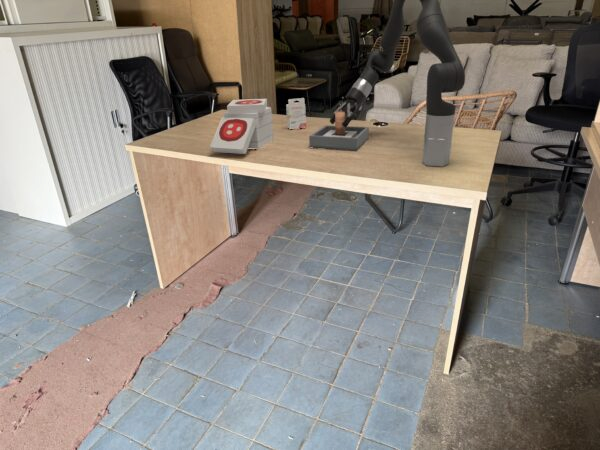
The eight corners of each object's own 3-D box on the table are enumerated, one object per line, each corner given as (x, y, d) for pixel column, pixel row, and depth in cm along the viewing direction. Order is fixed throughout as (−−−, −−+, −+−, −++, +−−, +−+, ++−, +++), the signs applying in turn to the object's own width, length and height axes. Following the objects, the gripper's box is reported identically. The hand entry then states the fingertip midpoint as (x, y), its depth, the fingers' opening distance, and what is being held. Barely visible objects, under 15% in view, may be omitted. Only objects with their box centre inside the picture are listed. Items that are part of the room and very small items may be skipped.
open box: (356, 151, 167) (356, 138, 165) (309, 147, 174) (309, 135, 172) (368, 138, 184) (368, 127, 182) (325, 136, 191) (325, 125, 189)
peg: (343, 142, 176) (343, 113, 171) (334, 141, 178) (334, 112, 173) (346, 139, 180) (346, 111, 175) (337, 139, 181) (336, 111, 176)
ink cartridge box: (303, 126, 211) (302, 96, 204) (306, 128, 206) (305, 97, 200) (287, 128, 209) (285, 97, 203) (289, 130, 205) (287, 99, 198)
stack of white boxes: (207, 156, 170) (200, 110, 162) (242, 138, 195) (238, 97, 187) (248, 159, 163) (244, 112, 155) (280, 140, 188) (277, 98, 180)
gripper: (343, 85, 178) (322, 116, 178) (365, 88, 168) (342, 121, 167) (352, 96, 183) (332, 127, 183) (375, 100, 172) (353, 132, 172)
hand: (337, 124), depth 175 cm, fingers open, 8 cm apart
